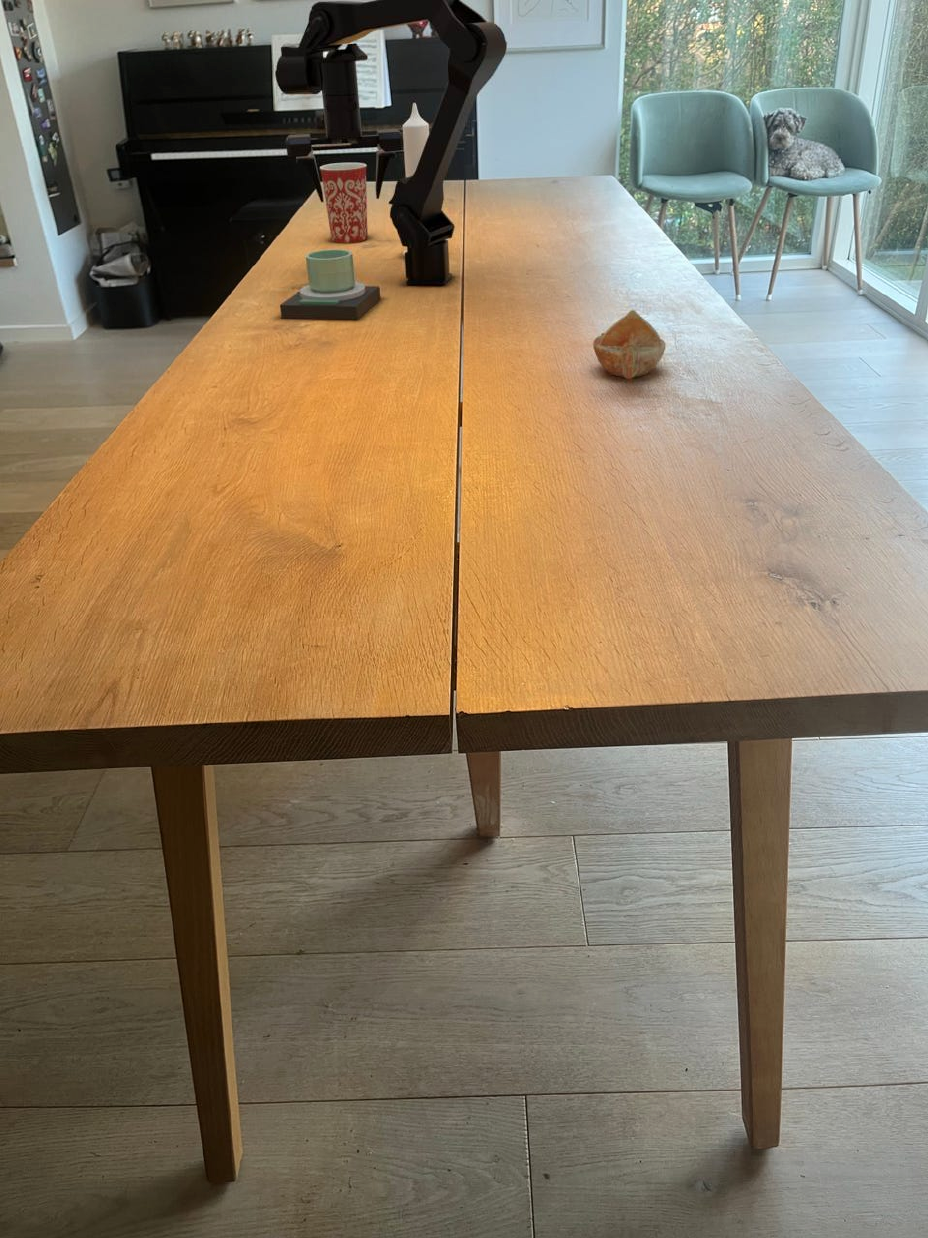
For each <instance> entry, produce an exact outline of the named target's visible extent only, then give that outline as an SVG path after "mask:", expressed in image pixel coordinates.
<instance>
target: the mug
mask: <svg viewBox="0 0 928 1238" xmlns="http://www.w3.org/2000/svg"><path fill="white" fill-rule="evenodd" d="M367 167H368V165H367V164H366V163H364V162H336V163H328V164H323V165H321V166H320V167H319V171H320V174H321V180H322V187H323V195H324V198H325V200H324V201H325V207H326V212H327V220H328V225H329V233H330V239H331V241H333V243H338V244H339V243H340V244H351V243H359V242H363V241H366V240H367V239H368V237H369V235H368V234H369V231H368V229H369V228H368V204H367V203H368V202H367V199H368V197H367V196H368V195H367V193H368V192H367Z"/></svg>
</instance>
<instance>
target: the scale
mask: <svg viewBox="0 0 928 1238" xmlns="http://www.w3.org/2000/svg"><path fill="white" fill-rule="evenodd" d="M380 300H381V289H380V286H378V285H377V286H375V285H365V284H364V283H362V282H359V281H355V284H354V285H353V286H352V287H351V288H350V289H348V290H346V291H342V292H335V293H321V292H316V291H314V289H311V288H309V284H307V285H305V286H303V287H301V288H300V289H299V291H297V292H296V293H294V294H293V295H291V296H290V297H288V298H287V299H286V300H285V301H283V302H282V303H280V304H279V309H280V316H281V319H298V320H299V319H300V320H301V319H302V320H338V321H339V320H343V321H344V320H345V321H358V320H359V319H360V318H361V317H362V316H364V315H365V314H366V313H367V312H369V310H370V309H371V308H373V306H375V304H377V303H378V302H379V301H380Z"/></svg>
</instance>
